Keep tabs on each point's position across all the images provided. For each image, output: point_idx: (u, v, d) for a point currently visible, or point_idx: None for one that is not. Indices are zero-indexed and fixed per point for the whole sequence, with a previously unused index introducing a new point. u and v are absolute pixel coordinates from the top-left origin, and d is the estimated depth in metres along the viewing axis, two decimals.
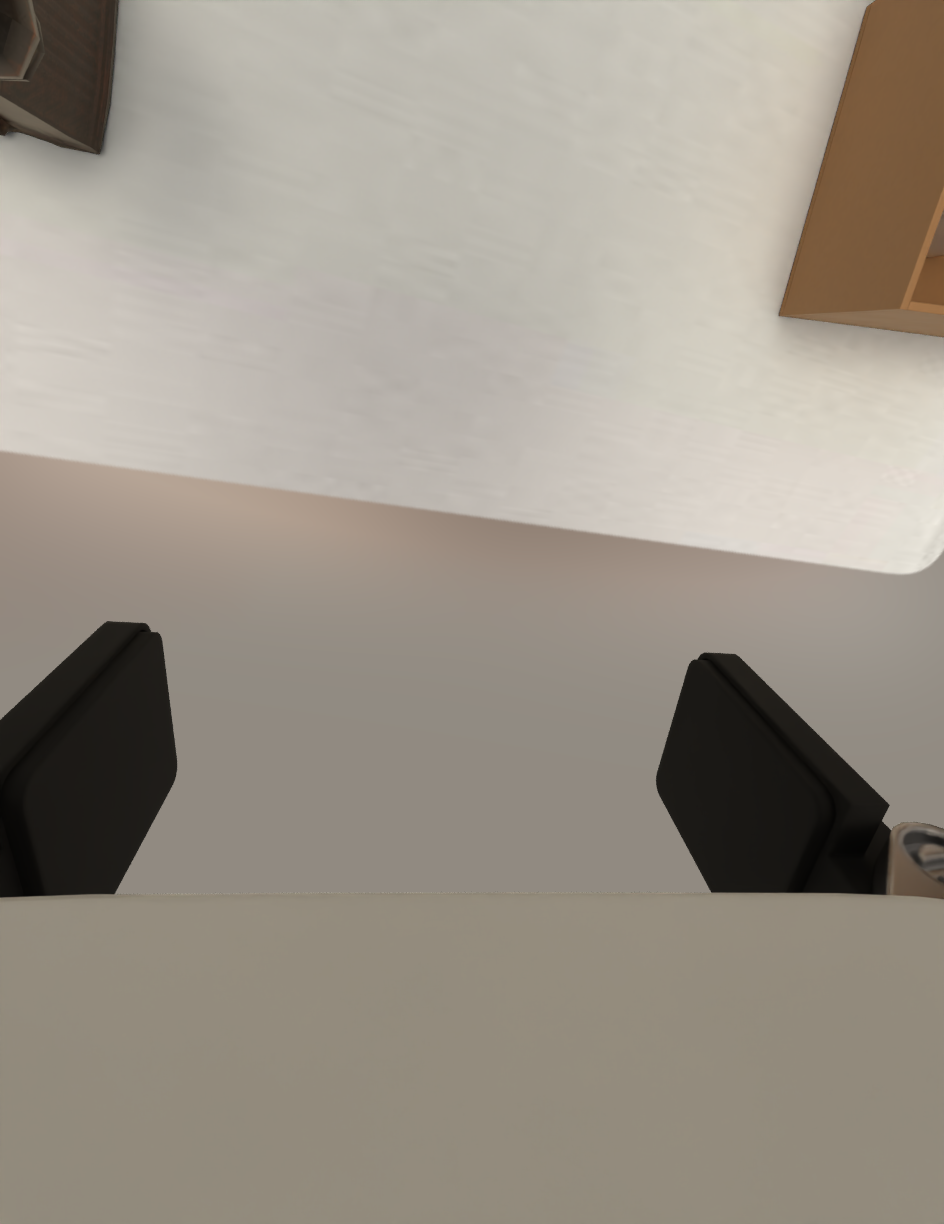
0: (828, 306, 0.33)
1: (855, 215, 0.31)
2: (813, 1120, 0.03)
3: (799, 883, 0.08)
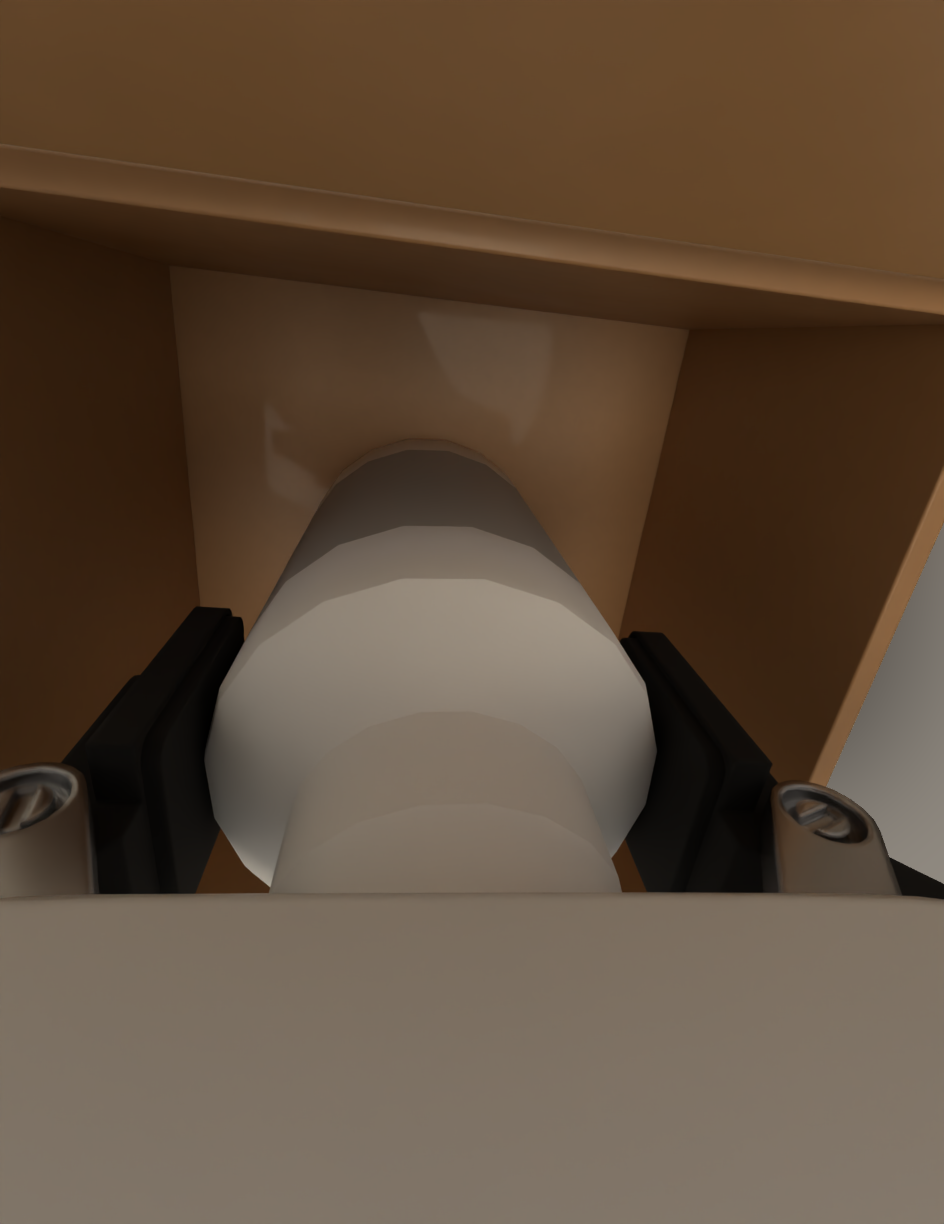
0: None
1: None
2: (812, 1120, 0.03)
3: (696, 840, 0.08)
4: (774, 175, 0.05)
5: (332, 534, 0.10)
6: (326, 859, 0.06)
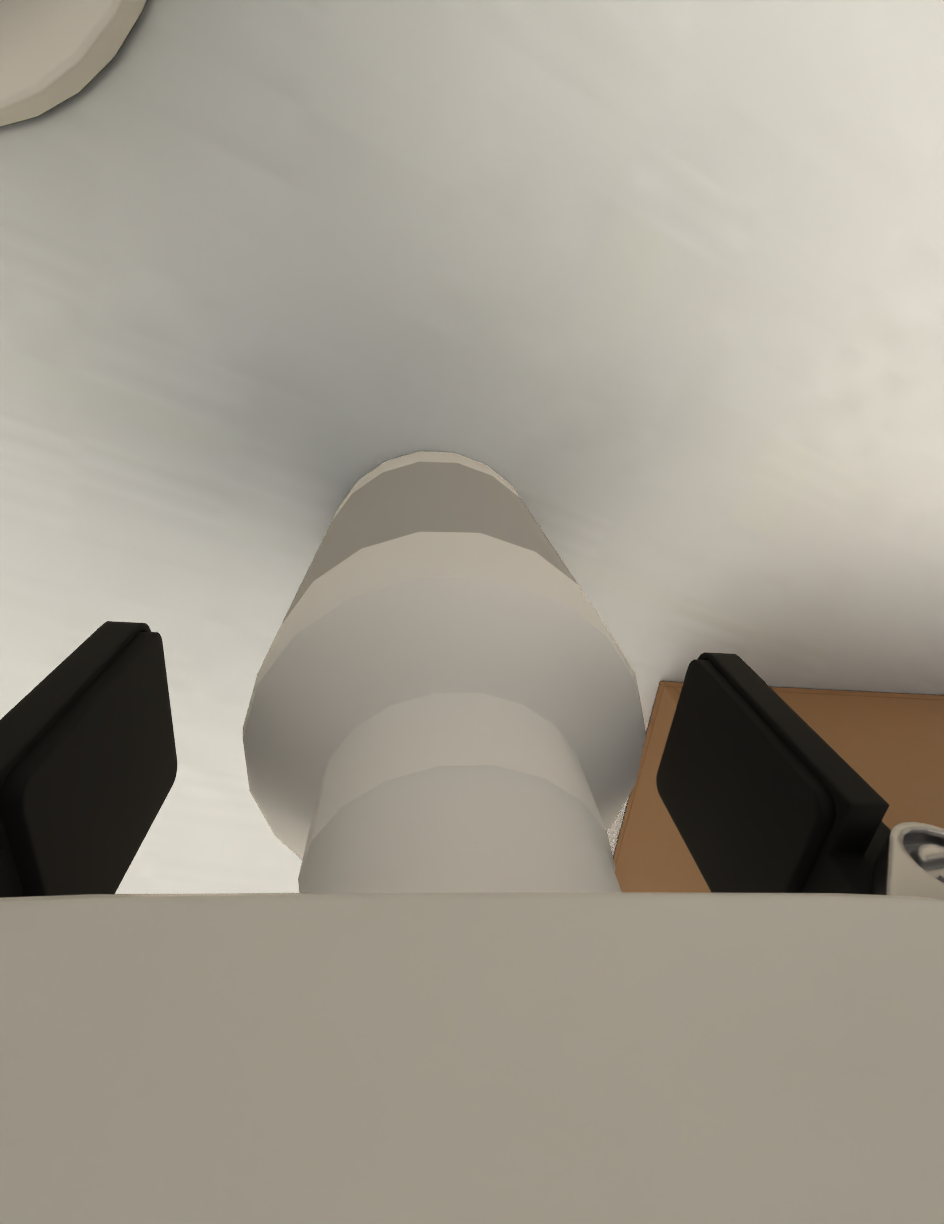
0: None
1: None
2: (813, 1120, 0.03)
3: (799, 883, 0.08)
4: None
5: (354, 539, 0.11)
6: (359, 811, 0.07)
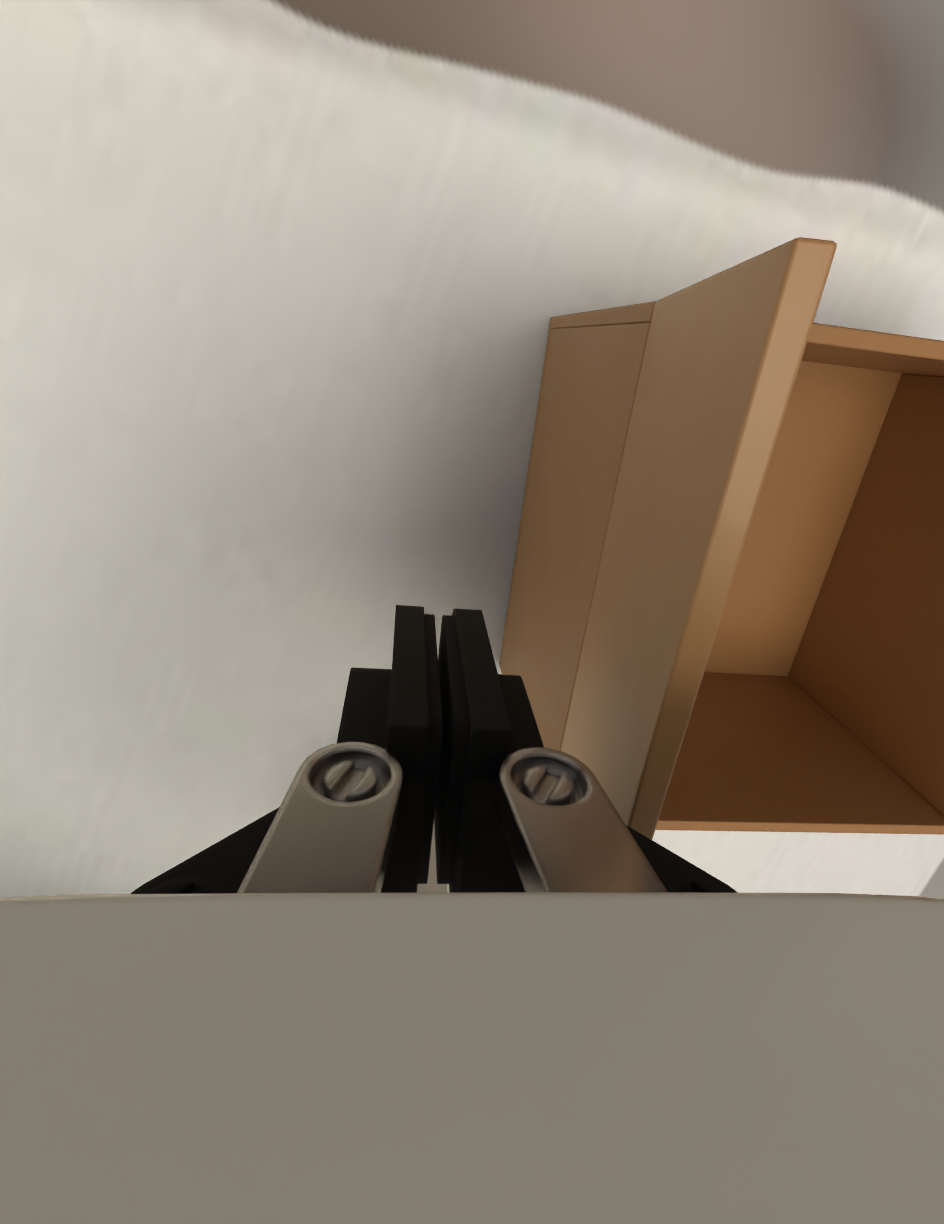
0: None
1: None
2: (813, 1121, 0.03)
3: (455, 808, 0.08)
4: None
5: None
6: None
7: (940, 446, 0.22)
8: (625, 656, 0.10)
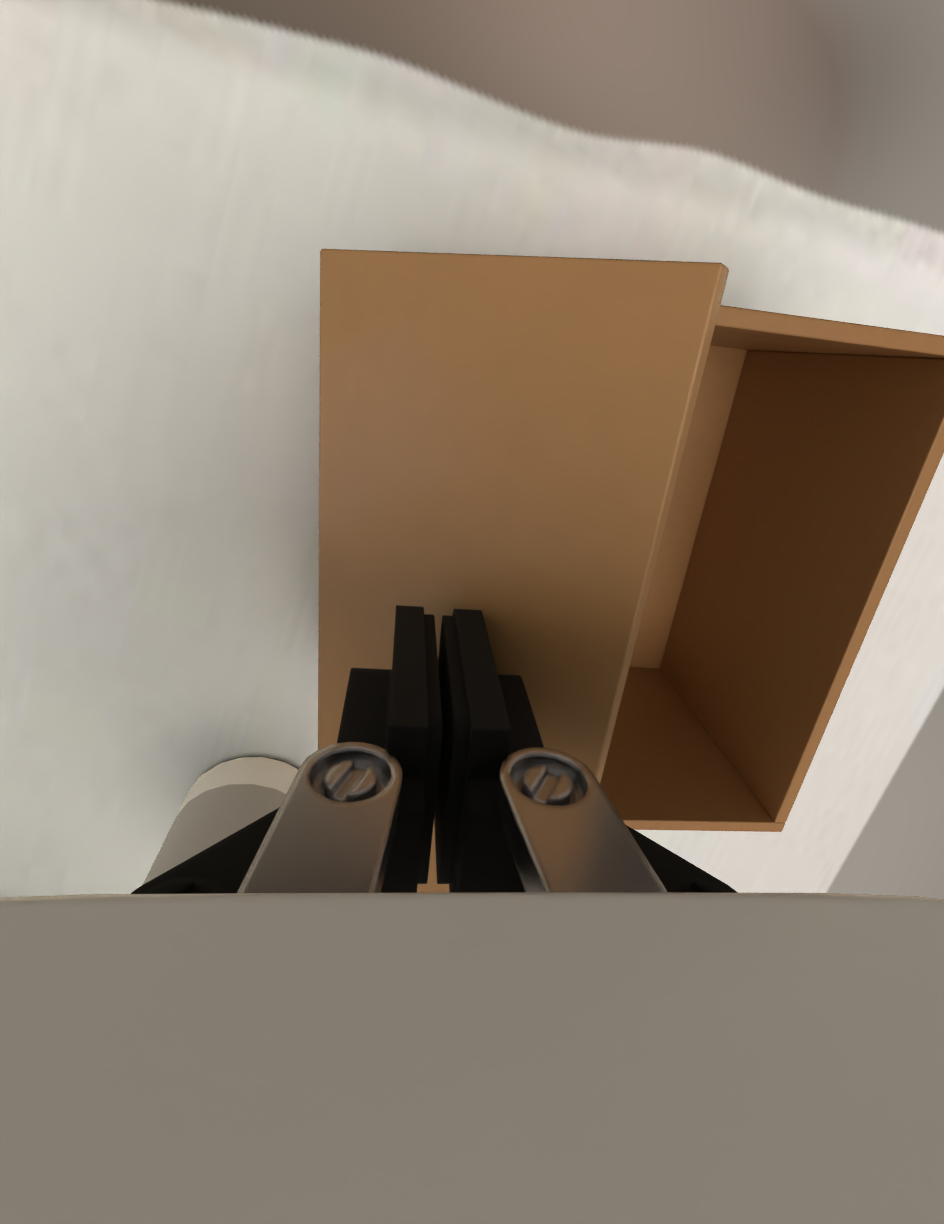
0: None
1: None
2: (813, 1121, 0.03)
3: (455, 809, 0.08)
4: None
5: None
6: None
7: (773, 424, 0.21)
8: (498, 611, 0.11)
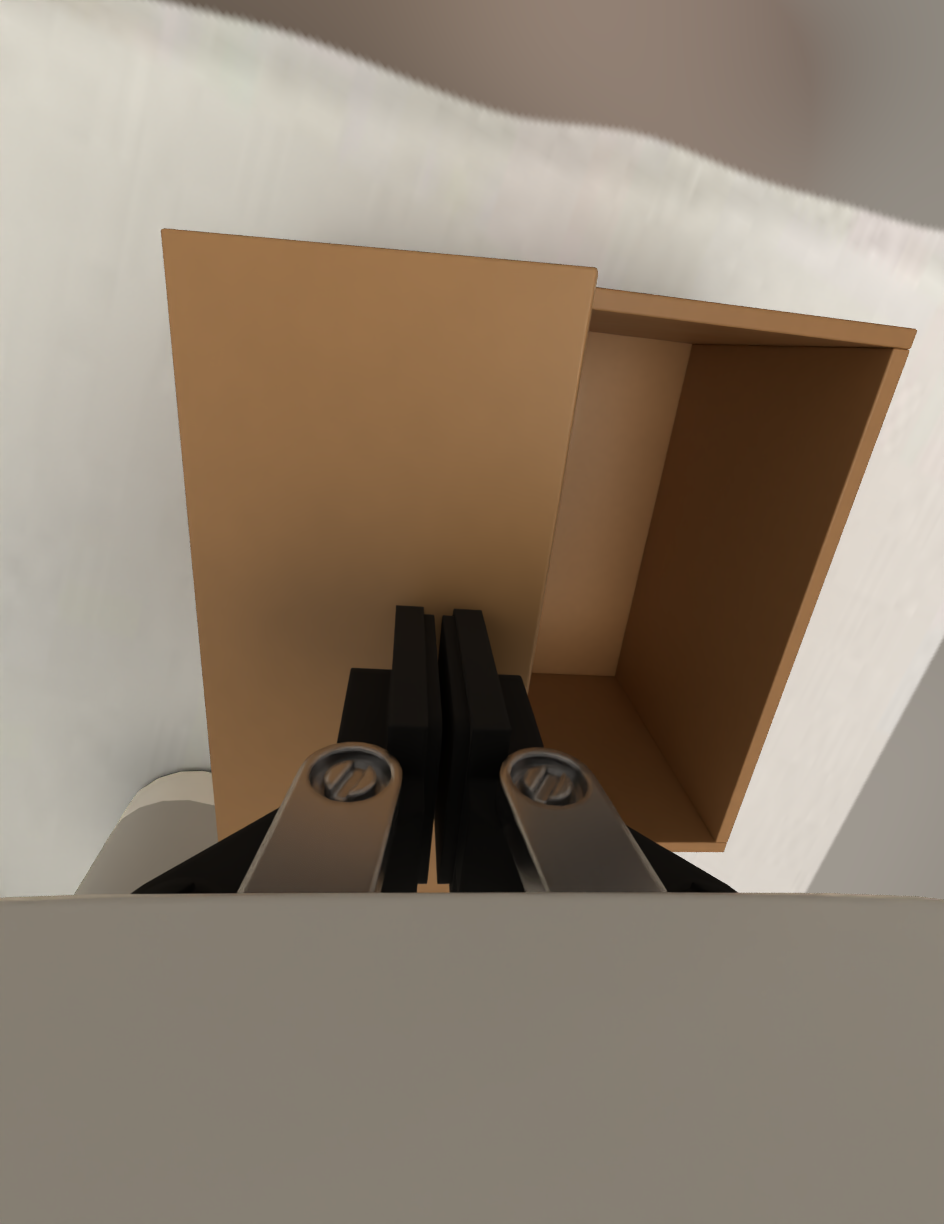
0: None
1: None
2: (813, 1120, 0.03)
3: (455, 808, 0.08)
4: None
5: None
6: None
7: (714, 421, 0.20)
8: (411, 594, 0.11)
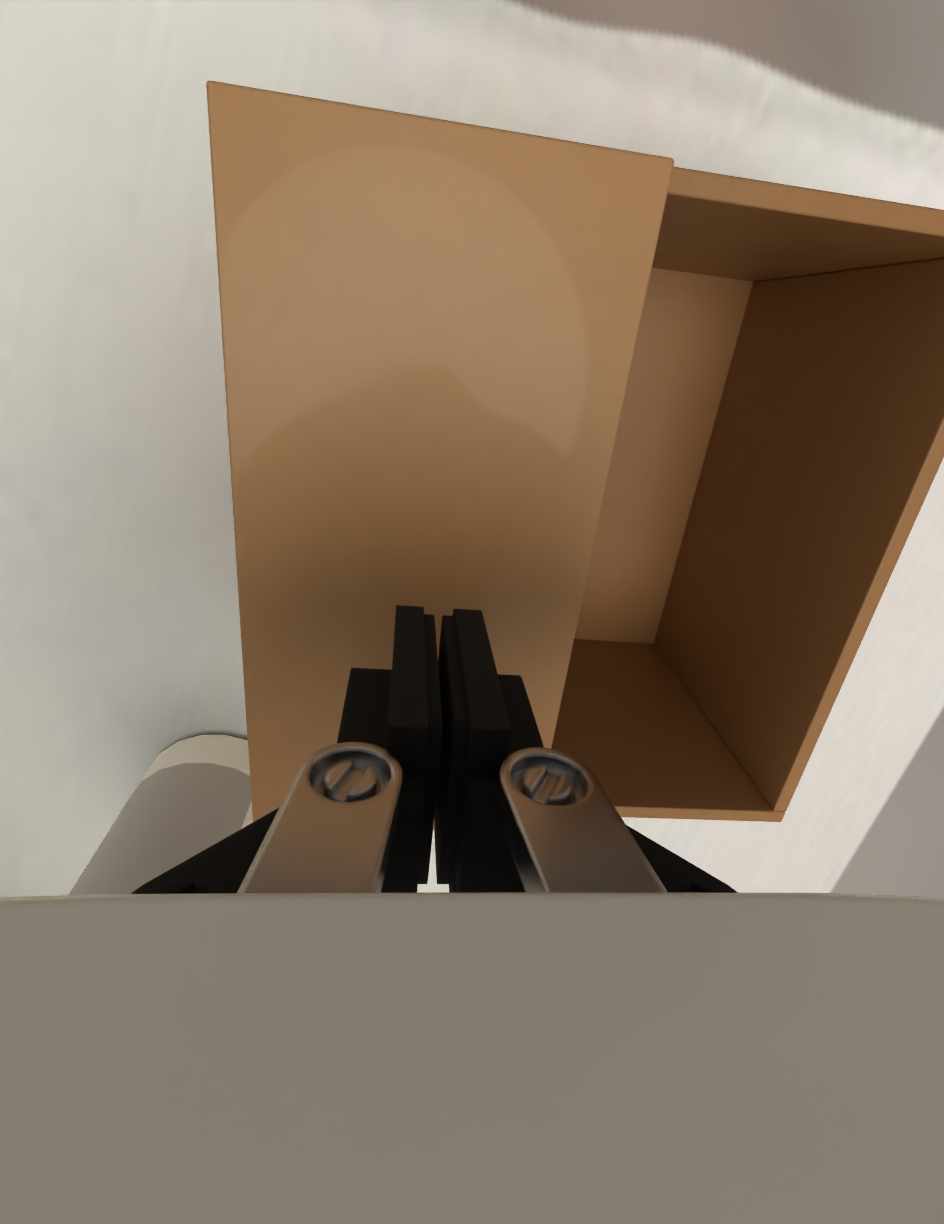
0: None
1: None
2: (813, 1120, 0.03)
3: (455, 808, 0.08)
4: None
5: None
6: None
7: (780, 361, 0.18)
8: (481, 493, 0.12)
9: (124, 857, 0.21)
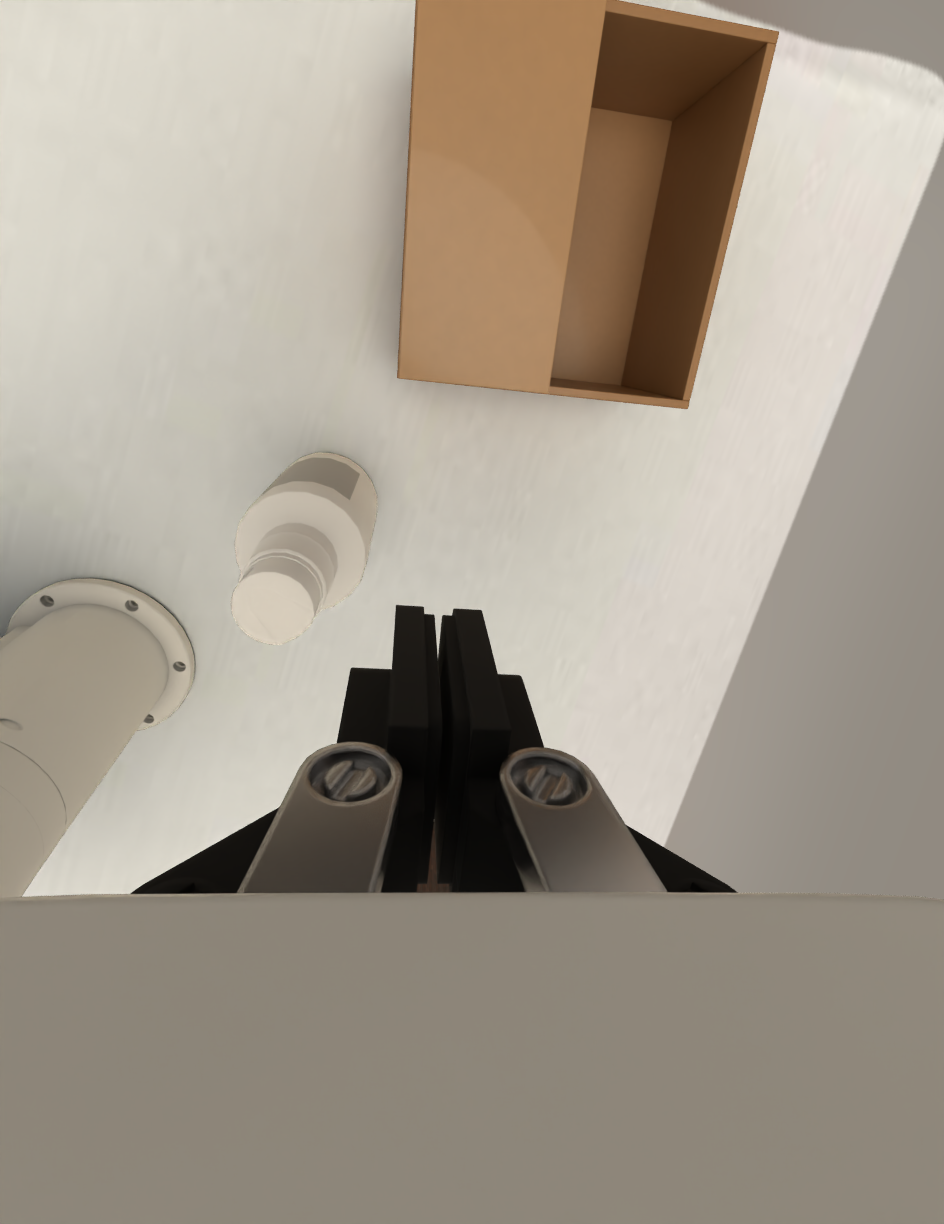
0: None
1: None
2: (813, 1121, 0.03)
3: (455, 808, 0.08)
4: None
5: None
6: None
7: (684, 156, 0.32)
8: (524, 161, 0.25)
9: (293, 475, 0.33)
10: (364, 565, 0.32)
